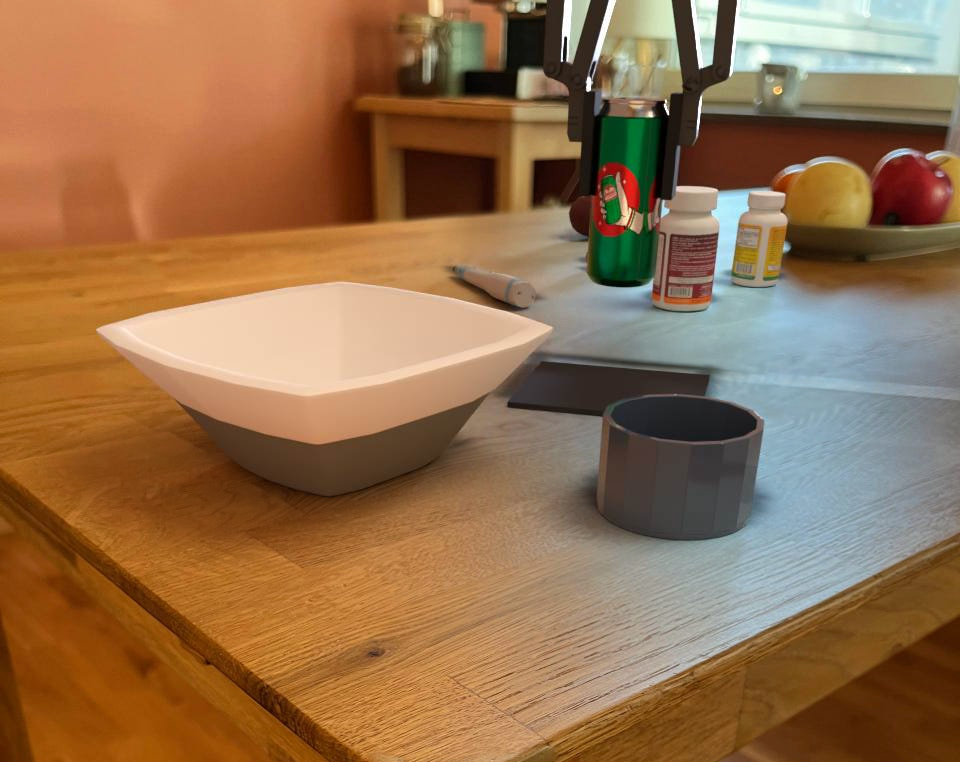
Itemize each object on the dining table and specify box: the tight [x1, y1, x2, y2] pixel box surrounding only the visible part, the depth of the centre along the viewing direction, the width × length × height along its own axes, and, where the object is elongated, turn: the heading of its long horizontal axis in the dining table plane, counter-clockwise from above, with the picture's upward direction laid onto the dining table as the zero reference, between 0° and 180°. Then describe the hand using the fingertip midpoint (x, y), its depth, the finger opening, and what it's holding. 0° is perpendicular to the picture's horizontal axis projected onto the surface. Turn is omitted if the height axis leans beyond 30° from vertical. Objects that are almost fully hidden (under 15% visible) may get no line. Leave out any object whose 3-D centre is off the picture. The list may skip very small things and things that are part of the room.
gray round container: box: [596, 394, 765, 541], centre depth 58 cm, size 9×9×6 cm
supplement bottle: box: [730, 190, 788, 288], centre depth 115 cm, size 5×5×10 cm
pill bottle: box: [651, 185, 721, 312], centre depth 104 cm, size 6×6×11 cm
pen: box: [452, 265, 537, 308], centre depth 111 cm, size 19×3×3 cm, turn 24°
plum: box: [568, 195, 591, 238], centre depth 143 cm, size 7×8×6 cm
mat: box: [506, 360, 710, 417], centre depth 79 cm, size 14×12×1 cm
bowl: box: [95, 281, 554, 497], centre depth 64 cm, size 22×23×8 cm
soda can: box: [586, 96, 669, 289], centre depth 72 cm, size 5×5×12 cm
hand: (627, 195), depth 72 cm, fingers closed on soda can, 5 cm apart
